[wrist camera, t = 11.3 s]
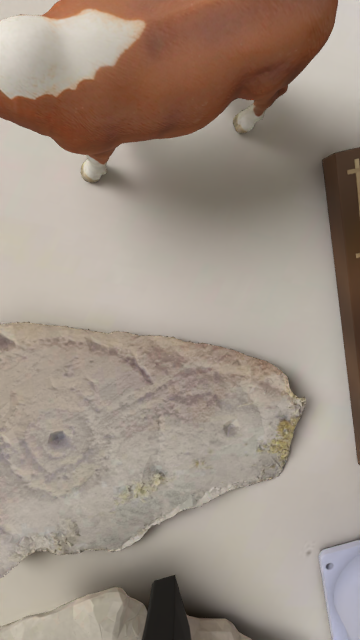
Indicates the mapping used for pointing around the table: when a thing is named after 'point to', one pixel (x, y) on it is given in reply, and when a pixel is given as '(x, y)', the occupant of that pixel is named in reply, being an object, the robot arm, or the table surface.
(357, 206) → the board
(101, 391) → the decorative stone
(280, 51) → the bull figurine
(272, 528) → the table surface
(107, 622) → the rock
